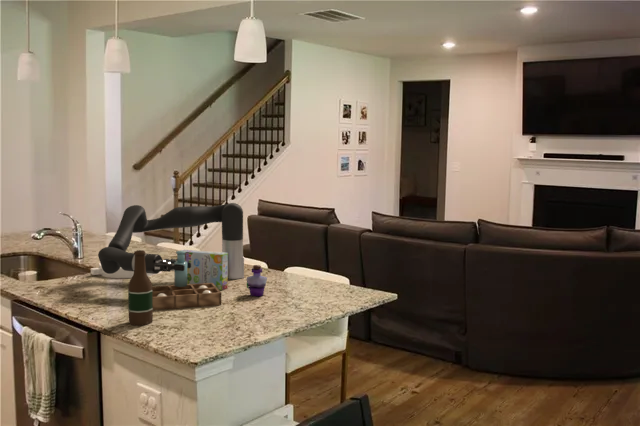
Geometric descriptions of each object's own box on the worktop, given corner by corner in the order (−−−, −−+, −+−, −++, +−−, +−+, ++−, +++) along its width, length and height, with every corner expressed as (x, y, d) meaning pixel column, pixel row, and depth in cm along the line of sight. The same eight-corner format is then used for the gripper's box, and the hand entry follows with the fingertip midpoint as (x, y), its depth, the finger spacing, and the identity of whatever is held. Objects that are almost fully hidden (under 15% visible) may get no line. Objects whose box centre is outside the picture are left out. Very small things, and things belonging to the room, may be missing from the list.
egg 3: (211, 299, 227) (211, 288, 226) (213, 301, 223) (213, 291, 222) (200, 299, 225) (200, 289, 225) (202, 302, 221) (202, 291, 221)
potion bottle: (243, 293, 239) (243, 264, 238) (263, 291, 243) (264, 262, 241) (249, 298, 231) (249, 268, 230) (270, 296, 235) (270, 266, 234)
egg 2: (207, 294, 234) (207, 284, 234) (209, 296, 230) (209, 286, 230) (197, 294, 233) (197, 284, 232) (198, 297, 229) (198, 286, 229)
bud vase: (186, 283, 231) (186, 250, 230) (188, 286, 227) (188, 252, 225) (173, 284, 230) (173, 250, 228) (175, 287, 225) (175, 252, 224)
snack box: (228, 288, 249) (228, 252, 247) (221, 291, 243) (221, 254, 242) (183, 283, 255) (183, 248, 254) (176, 286, 250) (176, 250, 248)
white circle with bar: (171, 267, 290) (171, 257, 289) (149, 280, 262) (149, 269, 262) (115, 265, 292) (115, 255, 292) (87, 277, 265) (87, 267, 264)
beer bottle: (131, 319, 201) (130, 248, 199) (155, 319, 202) (154, 248, 199) (125, 326, 193) (124, 252, 191) (150, 326, 194) (149, 253, 191)
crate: (212, 294, 237) (212, 282, 237) (221, 304, 221) (221, 292, 221) (146, 298, 228) (146, 286, 228) (150, 310, 212) (150, 297, 212)
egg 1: (166, 302, 221) (166, 291, 220) (168, 305, 217) (168, 294, 217) (155, 303, 219) (155, 292, 219) (156, 305, 216) (156, 294, 215)
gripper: (137, 256, 224) (178, 260, 219) (156, 250, 237) (196, 253, 233) (137, 276, 224) (178, 280, 220) (156, 269, 238) (195, 272, 234)
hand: (187, 266), depth 227 cm, fingers closed on bud vase, 4 cm apart
